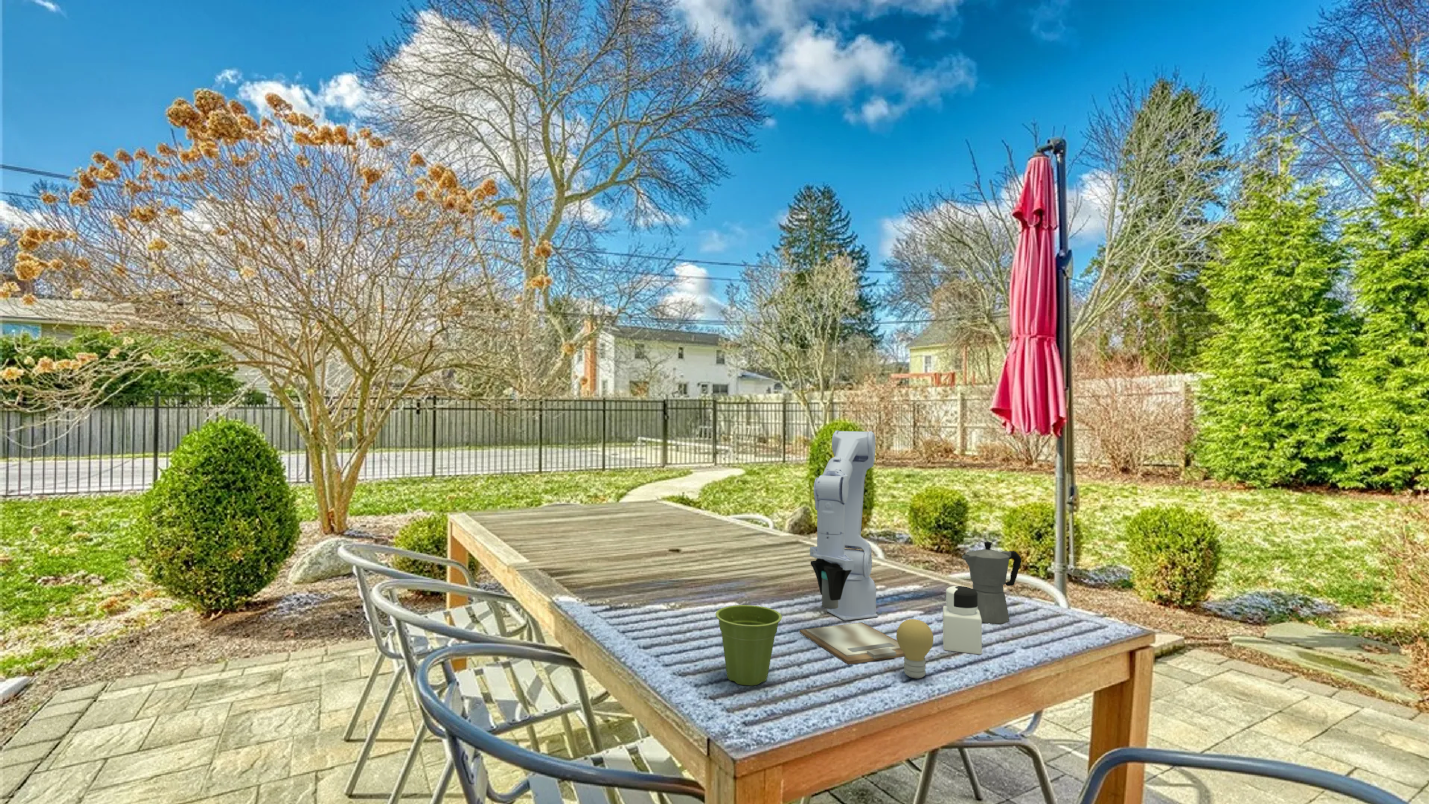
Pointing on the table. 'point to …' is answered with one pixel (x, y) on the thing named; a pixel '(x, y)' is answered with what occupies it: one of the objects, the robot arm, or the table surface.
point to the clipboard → (855, 642)
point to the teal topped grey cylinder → (827, 594)
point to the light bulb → (914, 646)
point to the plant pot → (748, 641)
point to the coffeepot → (992, 581)
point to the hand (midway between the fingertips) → (830, 597)
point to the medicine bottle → (962, 621)
